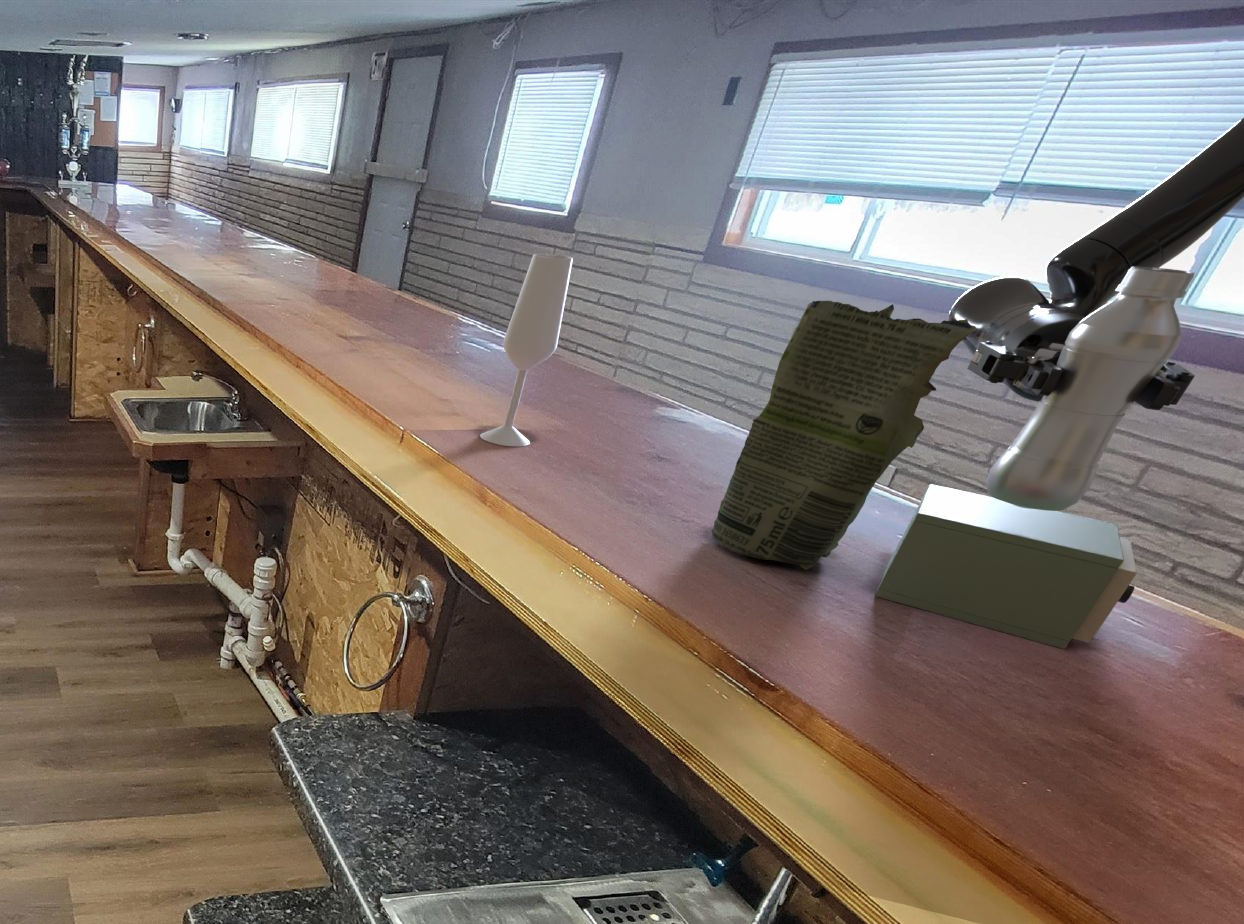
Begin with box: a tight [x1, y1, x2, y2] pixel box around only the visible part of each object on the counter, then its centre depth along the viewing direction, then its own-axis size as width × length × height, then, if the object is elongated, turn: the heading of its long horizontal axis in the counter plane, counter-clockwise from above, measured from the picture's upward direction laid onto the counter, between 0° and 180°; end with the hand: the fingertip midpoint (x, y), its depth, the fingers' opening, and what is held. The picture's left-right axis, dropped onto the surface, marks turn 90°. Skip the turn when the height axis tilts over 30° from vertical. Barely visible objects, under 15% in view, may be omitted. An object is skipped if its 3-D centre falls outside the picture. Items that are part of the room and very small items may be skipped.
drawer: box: [1071, 536, 1138, 644], centre depth 82 cm, size 14×10×7 cm
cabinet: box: [874, 483, 1124, 650], centre depth 83 cm, size 14×12×9 cm
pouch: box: [710, 300, 976, 571], centre depth 87 cm, size 11×12×25 cm
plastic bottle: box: [985, 267, 1196, 512], centre depth 75 cm, size 6×7×20 cm
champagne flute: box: [479, 253, 574, 447], centre depth 120 cm, size 7×7×24 cm
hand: (1105, 390), depth 73 cm, fingers closed on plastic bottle, 6 cm apart
